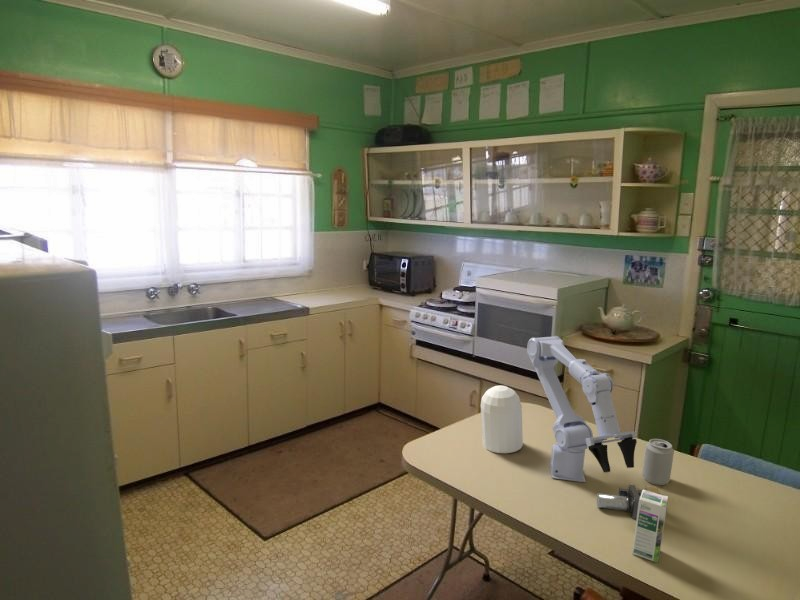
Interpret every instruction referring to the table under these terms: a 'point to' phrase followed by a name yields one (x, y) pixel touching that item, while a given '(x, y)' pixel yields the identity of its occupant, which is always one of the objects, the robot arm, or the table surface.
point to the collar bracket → (635, 496)
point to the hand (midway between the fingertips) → (618, 469)
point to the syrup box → (649, 525)
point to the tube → (615, 502)
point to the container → (501, 420)
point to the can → (658, 462)
